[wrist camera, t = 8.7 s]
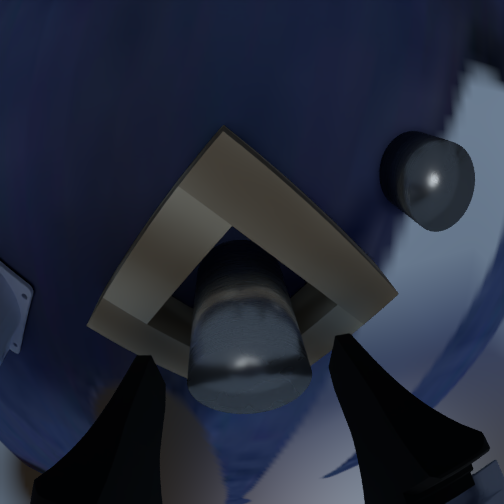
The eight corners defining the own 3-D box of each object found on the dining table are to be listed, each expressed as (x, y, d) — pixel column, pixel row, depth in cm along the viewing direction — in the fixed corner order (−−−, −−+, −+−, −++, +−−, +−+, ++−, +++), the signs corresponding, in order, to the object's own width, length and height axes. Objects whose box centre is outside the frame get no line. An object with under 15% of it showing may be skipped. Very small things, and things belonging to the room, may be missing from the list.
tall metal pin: (244, 319, 17) (255, 421, 11) (181, 282, 15) (164, 390, 9) (296, 270, 16) (335, 372, 10) (233, 223, 14) (241, 324, 8)
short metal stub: (405, 223, 15) (433, 248, 12) (363, 170, 13) (393, 188, 11) (450, 172, 14) (483, 189, 11) (415, 114, 12) (452, 122, 9)
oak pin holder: (249, 369, 20) (253, 403, 17) (103, 291, 15) (86, 325, 13) (375, 263, 16) (398, 293, 13) (223, 124, 12) (222, 131, 9)
